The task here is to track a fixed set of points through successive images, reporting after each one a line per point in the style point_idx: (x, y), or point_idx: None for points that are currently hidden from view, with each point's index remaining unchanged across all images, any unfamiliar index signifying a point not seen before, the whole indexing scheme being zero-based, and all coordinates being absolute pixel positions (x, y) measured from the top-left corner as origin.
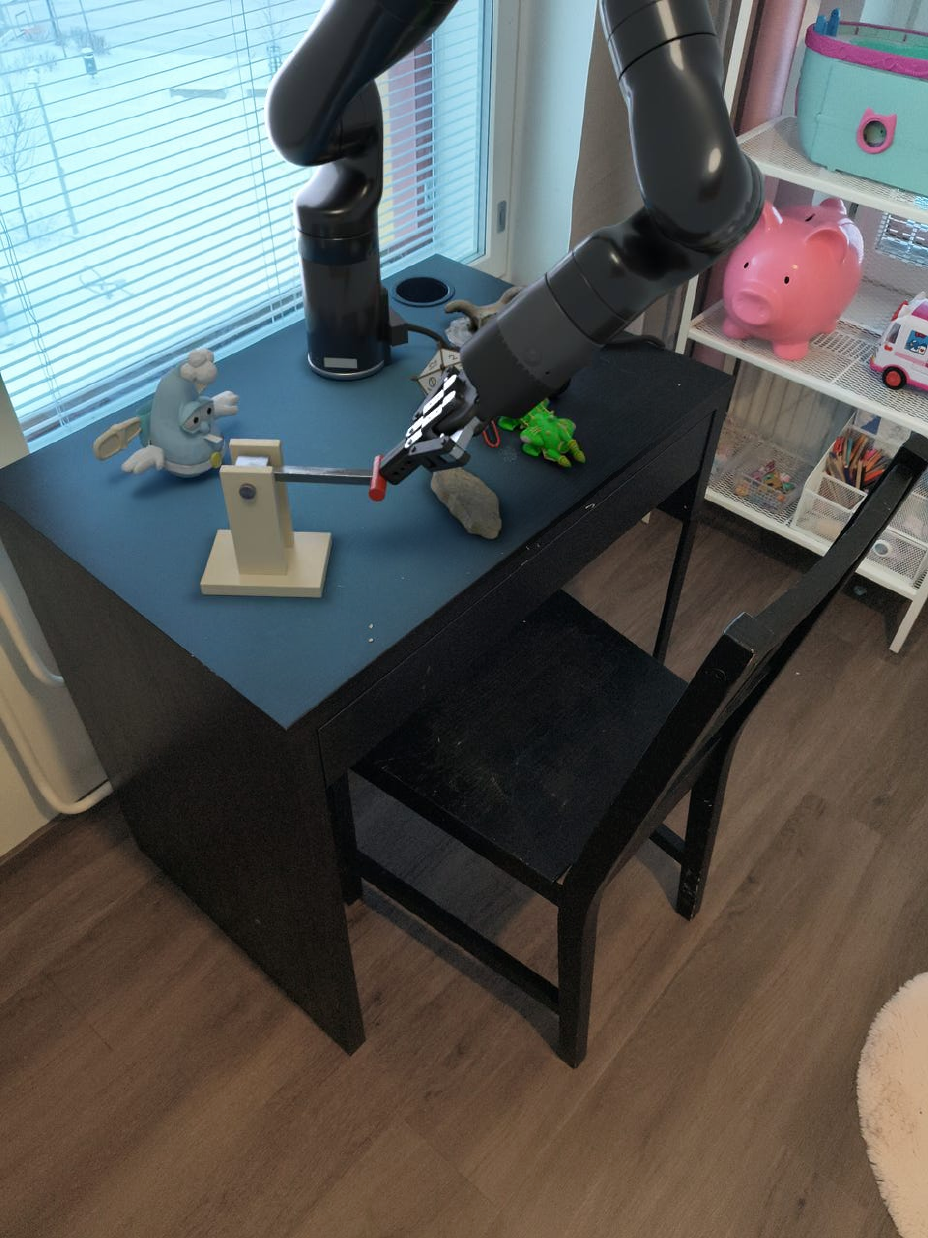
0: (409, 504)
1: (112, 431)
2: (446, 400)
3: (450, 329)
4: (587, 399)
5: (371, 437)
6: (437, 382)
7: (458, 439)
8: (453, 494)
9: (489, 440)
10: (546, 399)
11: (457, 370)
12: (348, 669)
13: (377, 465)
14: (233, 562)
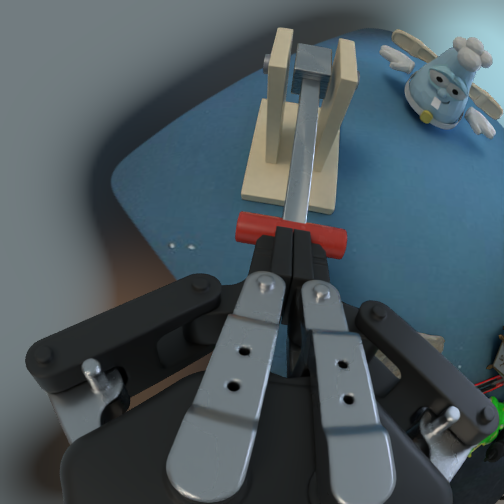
0: (389, 305)
1: (413, 38)
2: (204, 444)
3: None
4: (483, 465)
5: (482, 269)
6: (464, 378)
7: (53, 405)
8: (383, 359)
9: None
10: (489, 442)
11: (475, 442)
12: (140, 222)
13: (314, 230)
14: (290, 120)
